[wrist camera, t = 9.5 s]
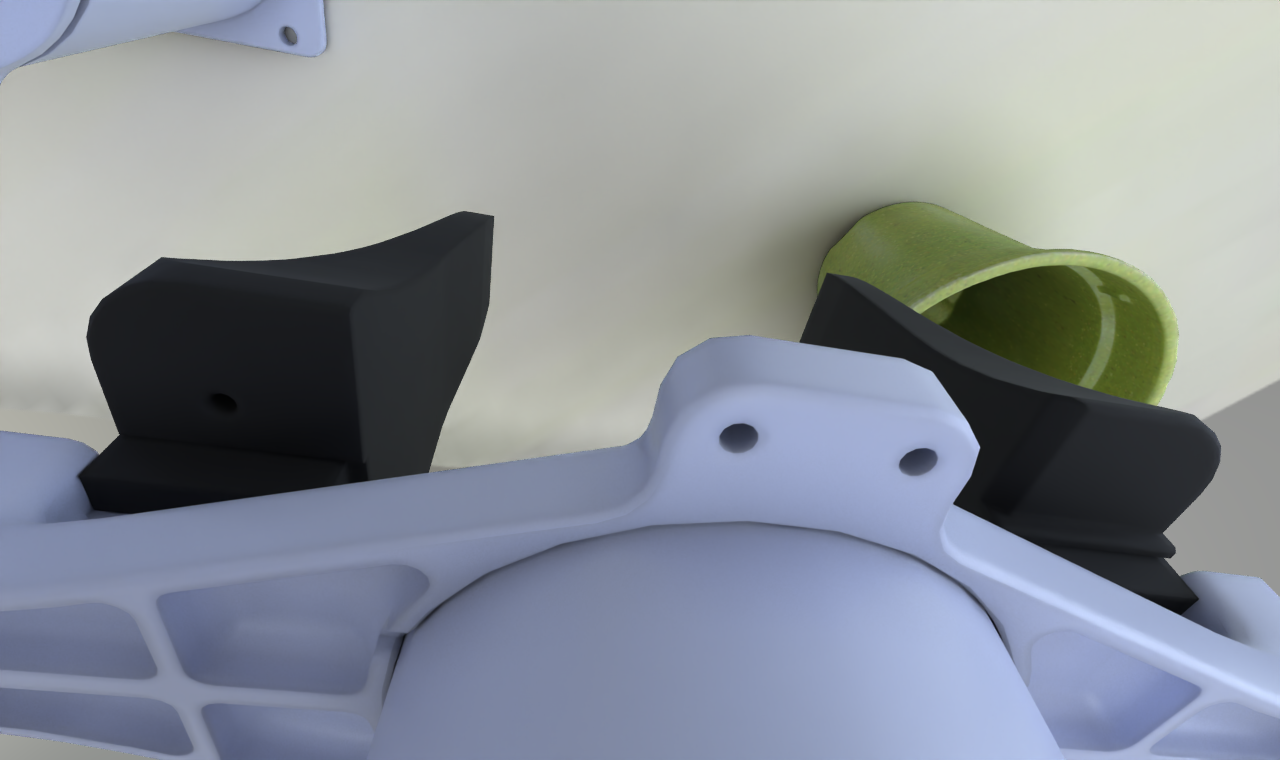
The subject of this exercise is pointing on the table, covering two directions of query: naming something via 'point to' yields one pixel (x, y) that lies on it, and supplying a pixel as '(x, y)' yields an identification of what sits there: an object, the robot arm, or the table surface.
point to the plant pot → (1019, 297)
